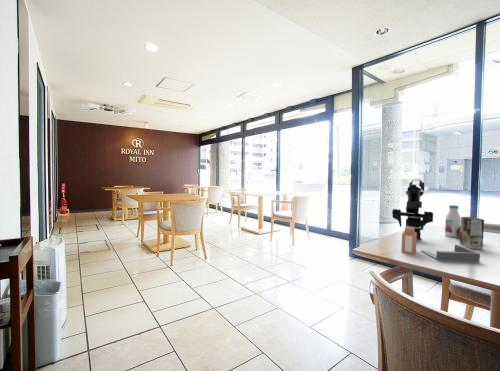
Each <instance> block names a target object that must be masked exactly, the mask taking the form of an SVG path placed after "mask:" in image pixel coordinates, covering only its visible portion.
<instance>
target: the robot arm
mask: <svg viewBox="0 0 500 371" xmlns="http://www.w3.org/2000/svg"><path fill="white" fill-rule="evenodd" d="M408 183H409V184H408V187H407V188H406V190H405V193H406V196H407V202H406V207H405V211H402V209H400V208H399V209H397V208H393V209H392V212H391V214H392V218H393V219H395V221H396V220H397V223H398V225H399V227H400V228H401V227H402V217H406V218H405V227H411V228H415V232H416V233H417V240H423V238H421V233H422V232H421V231H422V230H423V231H424V227H425V226H426V225H427V224H430V223H433V222H434V212H432V211H423V213H420V212H419V211H420V209H422V208H423V207H422V206H423V202H422V201H421V197H423V195H424V193H425V183H424V182H423V181H422V179H420V178H419V179H418V178H417V179H416V178H414V179H412V180H411V181H410V182H408Z"/></svg>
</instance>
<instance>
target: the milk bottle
mask: <svg viewBox="0 0 500 371" xmlns="http://www.w3.org/2000/svg"><path fill="white" fill-rule="evenodd" d="M448 208H449V209H448V212H447V214H446V216H445V224H444V226H445V227H444V235H445V237H449V238H458V236H457V229H458V228H459V227H461V215H460V213H459V211H458V210H459V205H454V204H450V205H449V206H448Z"/></svg>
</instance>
